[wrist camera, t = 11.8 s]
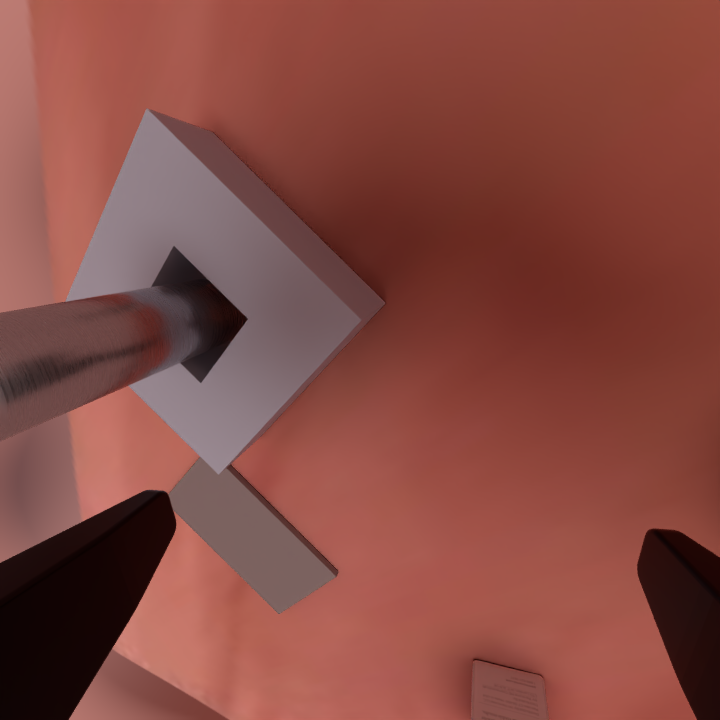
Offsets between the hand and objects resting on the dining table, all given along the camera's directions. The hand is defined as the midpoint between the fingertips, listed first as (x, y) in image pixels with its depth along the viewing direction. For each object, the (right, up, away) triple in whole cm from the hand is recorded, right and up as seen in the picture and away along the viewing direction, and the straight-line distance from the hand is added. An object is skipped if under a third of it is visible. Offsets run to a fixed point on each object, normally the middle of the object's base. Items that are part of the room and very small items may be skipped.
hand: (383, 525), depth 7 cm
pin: (-7, +6, +14) cm, 17 cm away
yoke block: (-7, +6, +14) cm, 17 cm away
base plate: (-8, -9, +20) cm, 23 cm away
